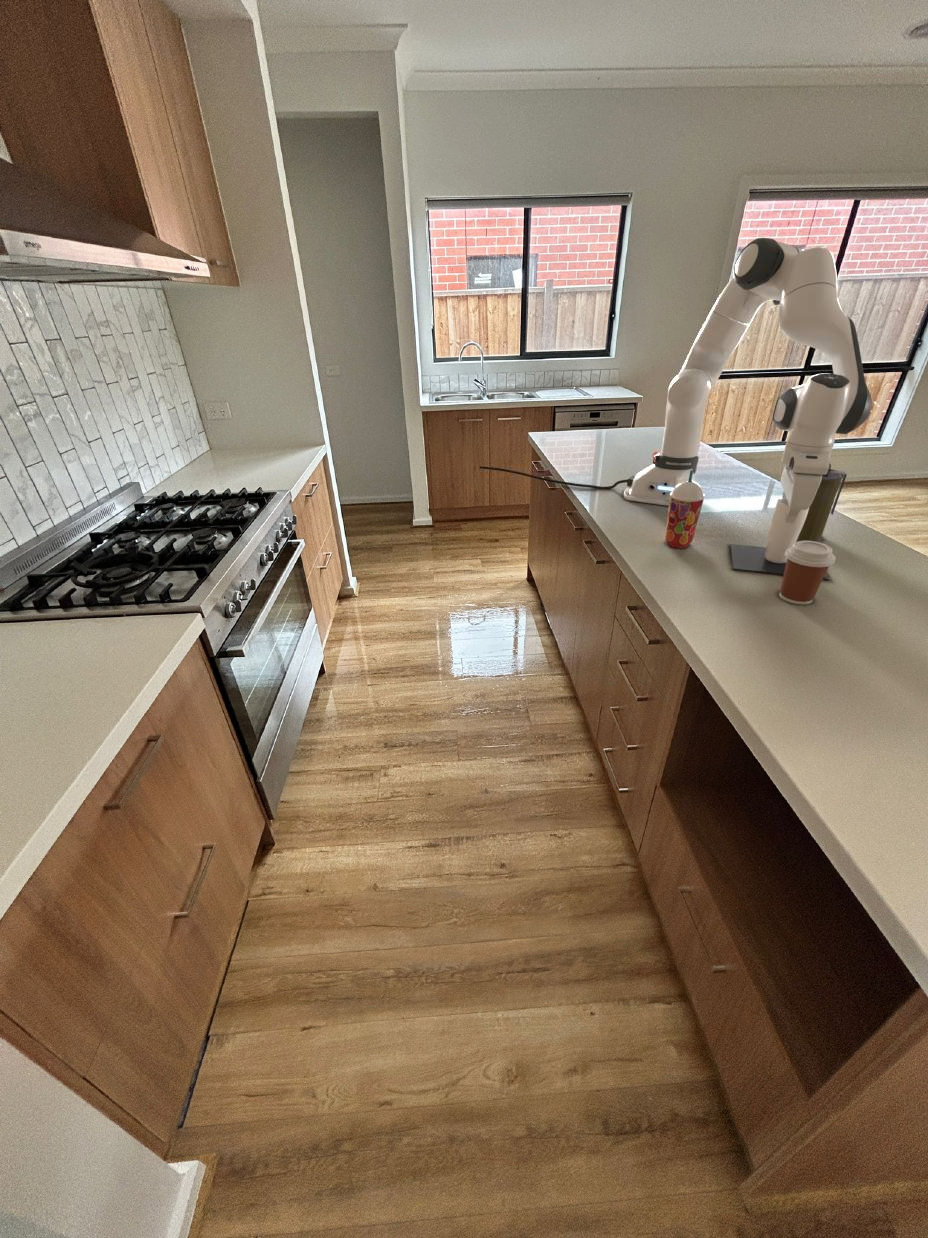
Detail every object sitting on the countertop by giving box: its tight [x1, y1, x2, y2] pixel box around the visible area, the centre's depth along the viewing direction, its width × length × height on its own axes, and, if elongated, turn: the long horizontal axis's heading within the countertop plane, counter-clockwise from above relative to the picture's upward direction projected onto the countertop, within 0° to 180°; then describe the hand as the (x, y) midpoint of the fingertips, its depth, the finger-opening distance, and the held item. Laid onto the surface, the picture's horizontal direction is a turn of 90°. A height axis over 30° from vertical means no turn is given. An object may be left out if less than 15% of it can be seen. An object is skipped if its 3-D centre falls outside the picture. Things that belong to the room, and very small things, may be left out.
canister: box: [796, 462, 848, 542], centre depth 134 cm, size 11×10×20 cm
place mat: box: [729, 543, 830, 581], centre depth 127 cm, size 20×15×1 cm
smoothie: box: [664, 470, 706, 549], centre depth 133 cm, size 8×8×20 cm
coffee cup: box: [778, 541, 837, 605], centre depth 109 cm, size 9×9×12 cm
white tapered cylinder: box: [765, 497, 809, 564], centre depth 123 cm, size 7×7×15 cm
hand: (786, 514), depth 121 cm, fingers open, 8 cm apart
